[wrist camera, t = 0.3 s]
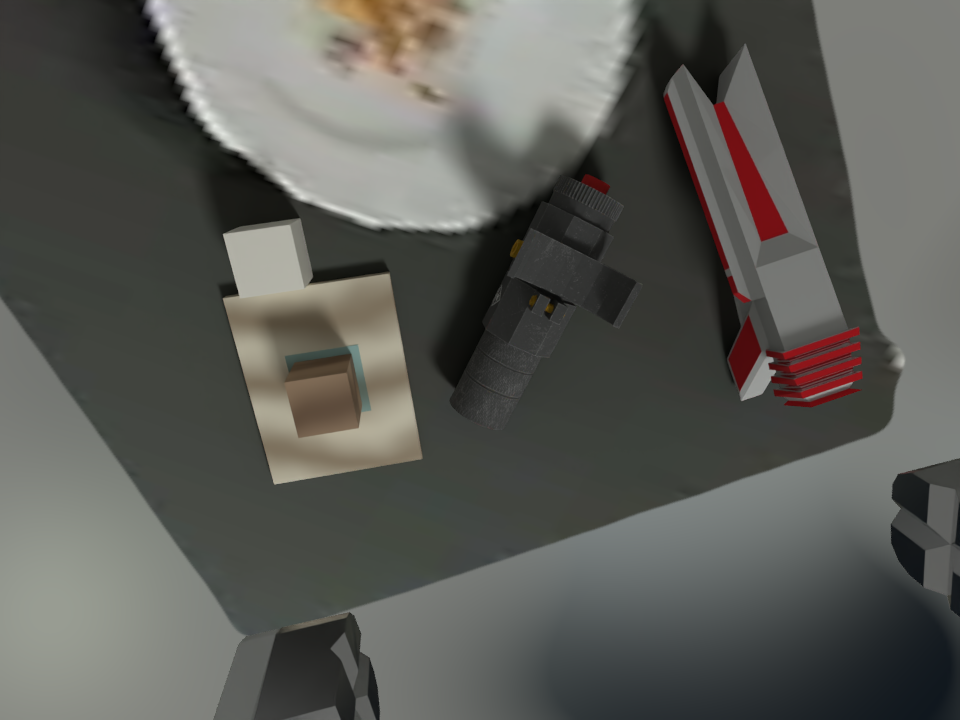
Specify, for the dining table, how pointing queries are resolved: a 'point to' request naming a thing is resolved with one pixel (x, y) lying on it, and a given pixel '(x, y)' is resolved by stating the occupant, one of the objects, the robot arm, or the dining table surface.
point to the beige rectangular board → (319, 334)
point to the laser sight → (544, 297)
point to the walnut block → (324, 395)
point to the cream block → (269, 258)
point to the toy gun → (763, 242)
